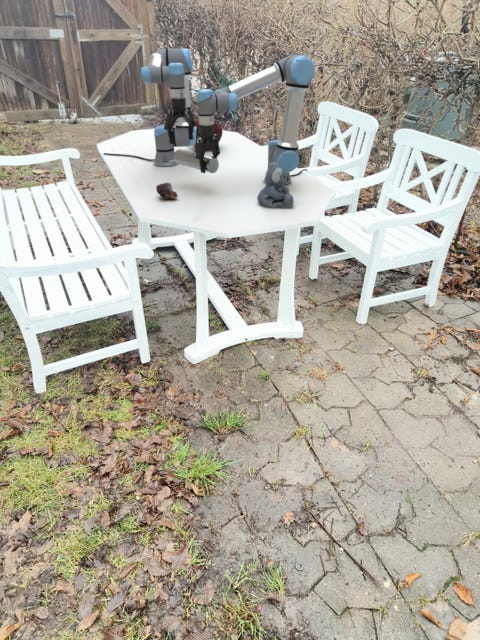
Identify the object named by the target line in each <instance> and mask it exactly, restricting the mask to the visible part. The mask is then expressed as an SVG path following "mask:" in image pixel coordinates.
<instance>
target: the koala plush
mask: <svg viewBox="0 0 480 640" xmlns="http://www.w3.org/2000/svg"><path fill="white" fill-rule="evenodd" d="M267 169H268V168H267ZM266 172H267V171H266ZM288 179H289V178H288V176H286V174H285V172H284V171H283V169H282V168H281V167H280V166H277V165H276V163H271V164H270V165H269V169H268V172H267V176H266V183H265V186H264V187H263V188H262V189H261V190H260V191H259V192H258V195H257V197H256V200H257V202H258V203H259V204H260V205H264V207H267V208H282V209H284V208H286V209H287V208H291V207H294V197H293V194H292V193H290V190H289V188H288V186H287V185H285V183H286V182H287V181H288Z"/></svg>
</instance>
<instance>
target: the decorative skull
mask: <svg viewBox="0 0 480 640" xmlns="http://www.w3.org/2000/svg"><path fill="white" fill-rule="evenodd" d="M195 122H196V125H195V127H196V139H199V138H200V136H201V134H200V132H199V125H200V124H199V119H197V120H195ZM213 125H214V133H213V134H216V135H218V143H219V144H220V141H221V140H222V137H223V133H224V132H223V128H222V126H221V125H220V124H219V123H218V122H217V121H216V120H214V124H213ZM196 144H197V143H195V145H194V146H193V147H194V153H196ZM204 145H205V144H204ZM207 150H211V149H210V146H209V144H208V145H207V147H206V150H205V151H207Z"/></svg>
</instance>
